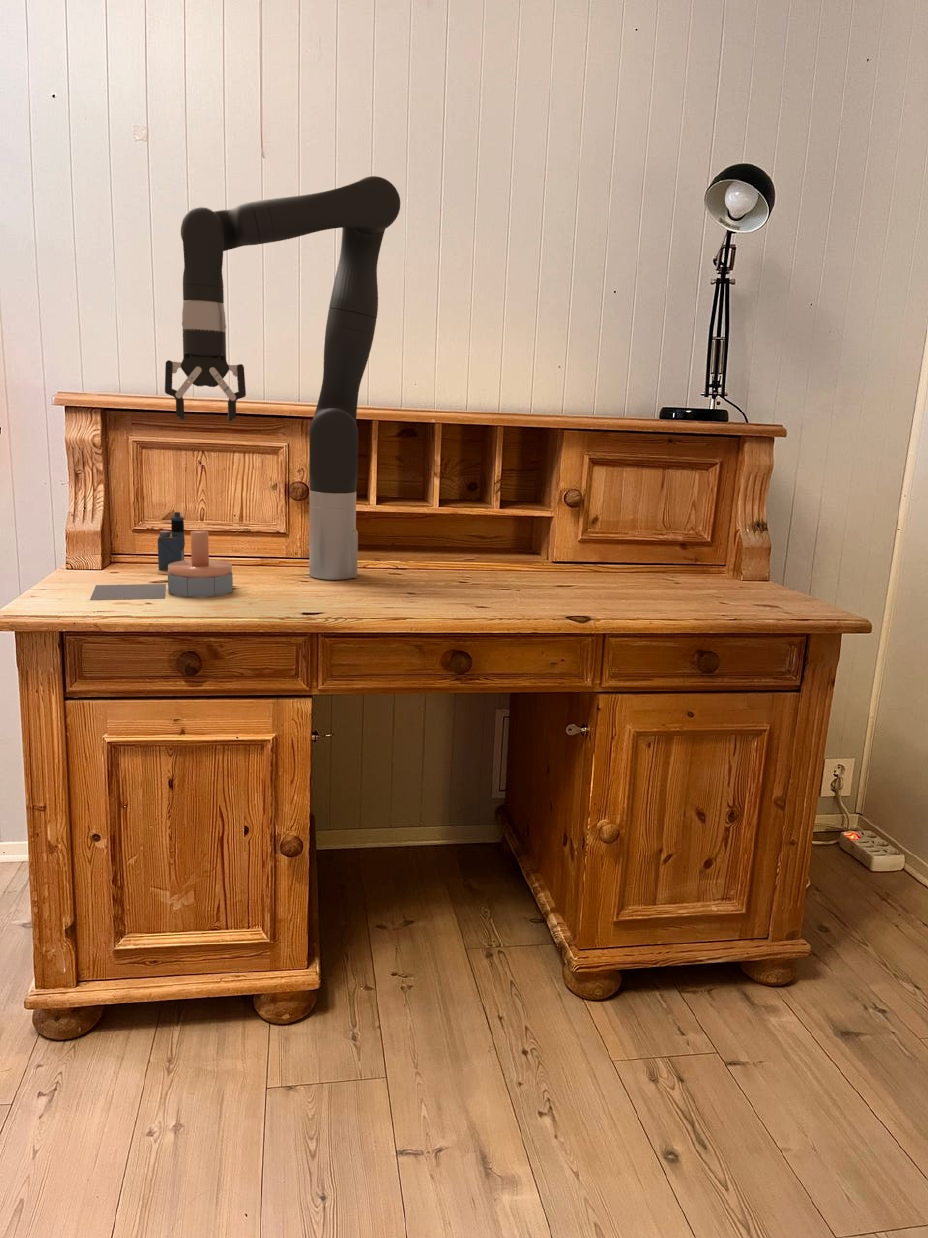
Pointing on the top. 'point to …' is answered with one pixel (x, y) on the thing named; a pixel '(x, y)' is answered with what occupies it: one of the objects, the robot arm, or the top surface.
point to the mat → (129, 592)
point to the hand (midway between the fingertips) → (206, 420)
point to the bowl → (200, 586)
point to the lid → (199, 561)
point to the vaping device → (171, 543)
